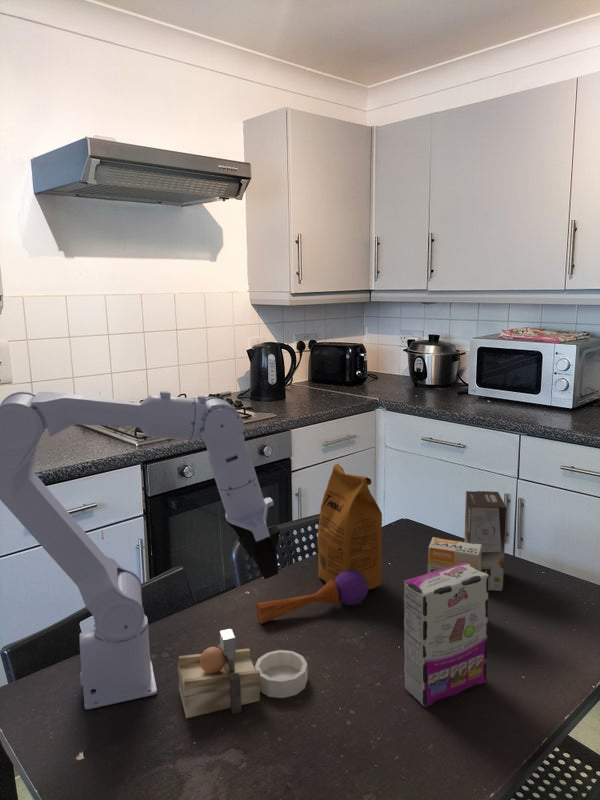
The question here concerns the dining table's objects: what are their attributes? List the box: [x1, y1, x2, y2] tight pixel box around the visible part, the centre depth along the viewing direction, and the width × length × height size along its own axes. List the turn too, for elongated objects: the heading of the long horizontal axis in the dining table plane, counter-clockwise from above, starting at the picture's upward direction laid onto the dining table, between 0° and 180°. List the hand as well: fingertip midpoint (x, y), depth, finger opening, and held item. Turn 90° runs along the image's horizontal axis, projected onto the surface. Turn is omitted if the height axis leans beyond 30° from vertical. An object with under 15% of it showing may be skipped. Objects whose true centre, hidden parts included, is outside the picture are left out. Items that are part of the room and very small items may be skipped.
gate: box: [219, 628, 237, 674], centre depth 84 cm, size 2×4×5 cm, turn 19°
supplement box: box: [427, 536, 482, 574], centre depth 102 cm, size 8×5×13 cm, turn 68°
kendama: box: [255, 570, 369, 624], centre depth 106 cm, size 6×6×20 cm
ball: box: [200, 646, 225, 674], centre depth 84 cm, size 3×3×3 cm
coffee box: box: [463, 490, 507, 592], centre depth 116 cm, size 9×6×16 cm
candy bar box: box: [403, 563, 489, 708], centre depth 85 cm, size 11×5×16 cm, turn 117°
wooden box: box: [177, 643, 261, 719], centre depth 84 cm, size 10×9×5 cm
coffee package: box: [316, 463, 383, 591], centre depth 115 cm, size 10×12×22 cm
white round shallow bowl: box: [254, 649, 308, 699], centre depth 88 cm, size 7×7×2 cm
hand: (263, 564), depth 91 cm, fingers open, 7 cm apart
